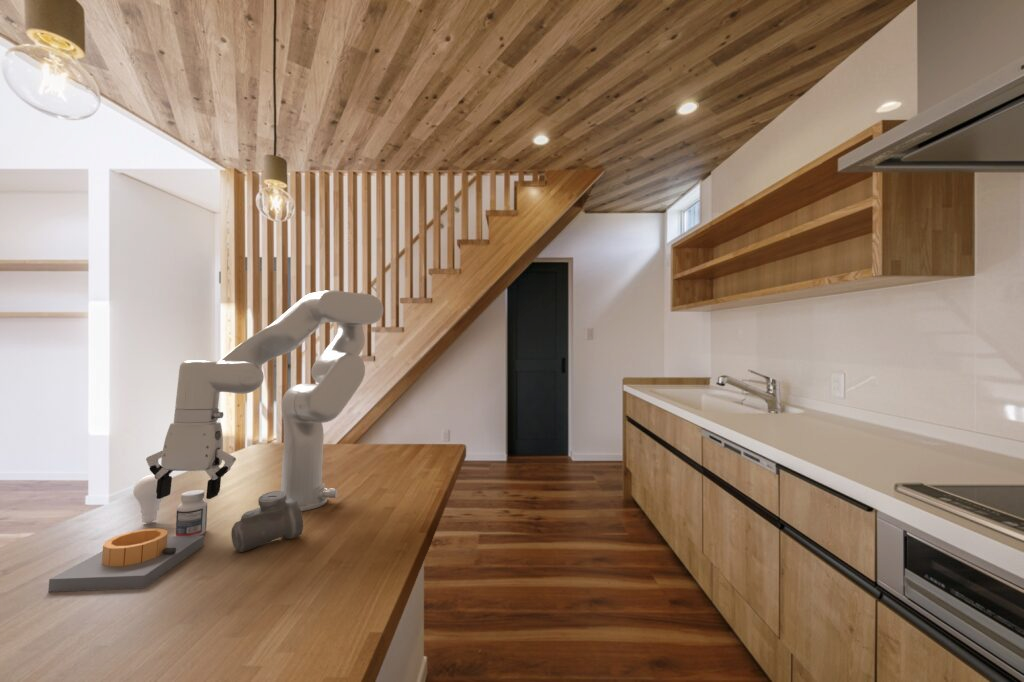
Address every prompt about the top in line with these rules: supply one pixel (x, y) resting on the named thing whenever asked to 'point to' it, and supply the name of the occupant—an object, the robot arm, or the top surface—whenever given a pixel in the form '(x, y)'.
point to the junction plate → (125, 573)
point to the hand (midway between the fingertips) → (187, 497)
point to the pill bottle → (191, 514)
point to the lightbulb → (147, 498)
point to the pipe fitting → (268, 522)
